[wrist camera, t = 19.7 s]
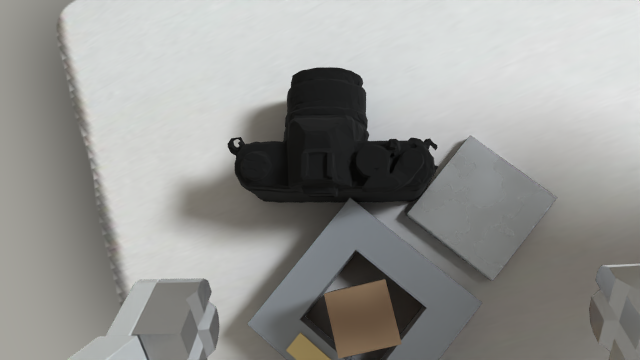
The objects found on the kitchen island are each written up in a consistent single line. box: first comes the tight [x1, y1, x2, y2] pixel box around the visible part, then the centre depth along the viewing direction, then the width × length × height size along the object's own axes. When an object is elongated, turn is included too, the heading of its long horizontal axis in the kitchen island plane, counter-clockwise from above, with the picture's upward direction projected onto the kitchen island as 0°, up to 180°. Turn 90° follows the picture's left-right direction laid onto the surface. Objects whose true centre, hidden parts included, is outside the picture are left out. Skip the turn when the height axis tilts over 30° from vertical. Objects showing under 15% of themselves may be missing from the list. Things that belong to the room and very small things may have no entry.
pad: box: [407, 135, 557, 280], centre depth 39 cm, size 8×8×1 cm
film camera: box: [228, 68, 438, 202], centre depth 38 cm, size 15×10×9 cm, turn 88°
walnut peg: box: [324, 279, 402, 358], centre depth 36 cm, size 4×4×8 cm
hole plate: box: [248, 198, 482, 360], centre depth 38 cm, size 12×12×3 cm
